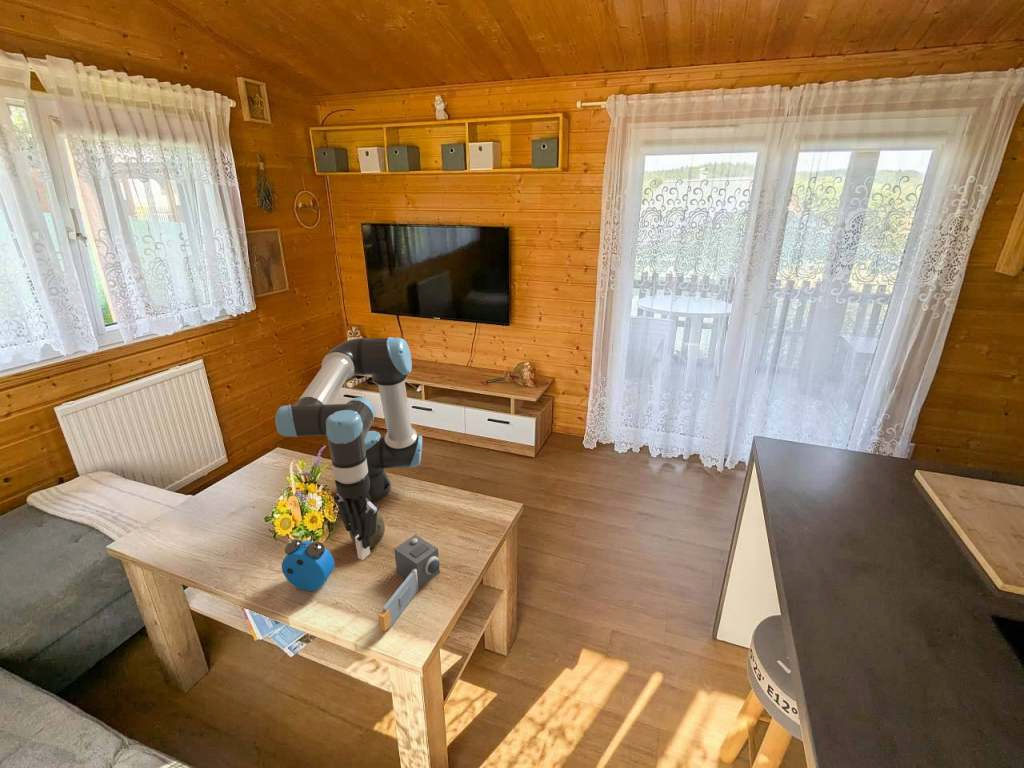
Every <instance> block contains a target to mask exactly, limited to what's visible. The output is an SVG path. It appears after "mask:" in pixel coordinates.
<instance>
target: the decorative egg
mask: <svg viewBox="0 0 1024 768" xmlns="http://www.w3.org/2000/svg"><path fill="white" fill-rule="evenodd" d="M385 526H386V525H385V520H384V518H383V515H382V514H381V513H380V511H379V510H378V512H377V519H376V530H375V534H374V535H372V536H371V537H370V538H369V540H370V546H369V548H370V549H371V548H373V547H375V546H377V545H378V544H379V543H380V542H381V541H382V539H383V537H384V534H385V529H386V527H385ZM348 532H349V533H348V534H349V536H350V539H351V540H352V542H353V544H355V542H354V536H353V535H352V533H351V531H348Z"/></svg>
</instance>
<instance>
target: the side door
mask: <svg viewBox="0 0 1024 768" xmlns="http://www.w3.org/2000/svg"><path fill="white" fill-rule="evenodd" d="M404 579H405V578H404ZM419 591H420V590H419V587H418V577H417V569H415V568H414V569H412V572H411V573H410V574H409V576H408V577H407V578H406V579H405V580H404V581H403V582H402V583H400V585H399V586H398V588H397V589H396V590H395V592H394V593H393V594H392V595H391V597H389V599H388V601H387V602H386V603H385V604H384V605H383V607H382V611H381V612H380V613H379V614H378V619H379V626H380V631H383V632H386V631H387V630H390V628H391V627H392V626H393V624H394V623H395V622H396V620H397V619H398V617H399V616H400V615H401V614H402V612H403V611H404V610H405V608H406V607H407V606H408V604H409V603H410V602H411V600H412V599H413V598H414V597H415V595H416V594H417V593H419Z"/></svg>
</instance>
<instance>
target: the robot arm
mask: <svg viewBox="0 0 1024 768" xmlns="http://www.w3.org/2000/svg"><path fill="white" fill-rule="evenodd" d="M412 361H413V360H412V354H411V350H410V347H409V344H408V342H407V341H406V340H405V339H404V338H401V337H393V336H392V337H391V336H390V337H389V336H388V337H379V338H378V337H377V338H376V337H375V338H373V337H371V338H370V337H368V338H364V337H363V338H362V337H360V338H359V337H358V338H353V339H348V340H346V341H344V342H342V343H339V344H338V345H337V346H335V347H333V348H332V349H330V350H329V352H327V353H326V355H324V357H323V359H322V361H321V368H320V369H319V370H318V372H317V373H316V375H315V376H314V378H312V381H310V383H309V385H308V386H307V387H306V389H305V390H304V392H303V393H302V395H300V397H299V399H298V400H297V401H296V402H295V404H294V405H293V404H288V405H282V406H280V407H279V408H278V409H277V411H276V413H275V414H276V415H275V422H274V423H275V427H276V431H277V433H278V434H279V435H281V436H283V437H295V438H297V437H313V436H315V437H316V436H326V438H327V441H328V447H329V452H330V458H331V465H332V471H333V472H332V473H333V477H334V480H335V481H334V484H335V488H336V492H337V493H336V494H335V495H333V497H332V498H333V500H334V502H335V504H336V506H337V508H338V511H339V513H340V516H341V519H342V522H343V525H344V528H345V530H346V531H347V532H349V531H351V533H352V535H353V536H354V542H355V543H354V542H353V543H354V544H355V546H356V547H355V549H356V553H357V558H358V559H359V560H362V561H363V560H364V559H365V558H367V557H368V556H369V555H371V550H370V549H371V548H369V546H370V540H369V538H370V537H371V536H372V535H374V534H375V530H376V519H377V512H378V511H379V510H380V509H381V508H380V505H379V504H373V502H375V501H379V500H380V499H383V498H384V497H386V496H387V495H388V494H389V493H390V492H391V489H392V483H391V479H390V478H389V476H388V474H387V472H386V470H385V469H405V468H406V469H407V468H408V469H409V468H416V467H418V466H420V465H421V460H422V452H423V451H422V450H423V436H422V435H420V434H418V432H417V431H416V429H415V428H413V427H412V421H411V416H410V415H411V413H410V408H409V403H408V396H407V395H408V394H407V387H406V380H407V378H408V376H409V374H410V373H411V372H412V368H413V363H412ZM353 376H371V381H372V382H373V383H374V385H377V386H378V391H379V397H380V401H381V406H382V412H383V416H384V421H385V427H386V431H387V432H386V433H385V435H384V436H382V435H381V433H380V432H378V431H376V430H370V428H371V426H372V425H373V424H374V420H375V416H376V408H375V406H374V404H373V403H372V401H370V400H369V399H368V398H365V397H361V396H360V397H354V398H352V399H350V400H349V401H348V402H347V403H333V402H334V401H335V400H336V398H337V395H338V394H339V393H340V391H341V389H342V387H343V385H344V383H345V382H346V381H349V380H350V379H351V378H352V377H353Z"/></svg>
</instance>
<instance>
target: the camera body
mask: <svg viewBox="0 0 1024 768" xmlns="http://www.w3.org/2000/svg"><path fill="white" fill-rule="evenodd" d="M393 551H394V559H395V567H396V573H397V574H398V576H399V575H400V577H402V578H404V579H406V578H407V577H408V576H409V574H410V573H411V572H412V569H414V568H415V569H417V577H418V587H419V589H421V588H423V587H424V586H425V585H426V584H427V583H429V582H430V581H432V579H434V578H435V577H436V576H438V575H439V574H440V573H441V571H440V568H441V567H440V564H441V563H440V557H439V547H436V546H434V545H433V544H431V543H429V542H428V541H426V540H425V539H423V538H422V537H420V536H418V535H417V534H414V535H412V536H411V537H409V538H407V539H406V540H405V541H403V542H402V543H400V544H399V545H397V546H396V547H395V548H394V549H393Z"/></svg>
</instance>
